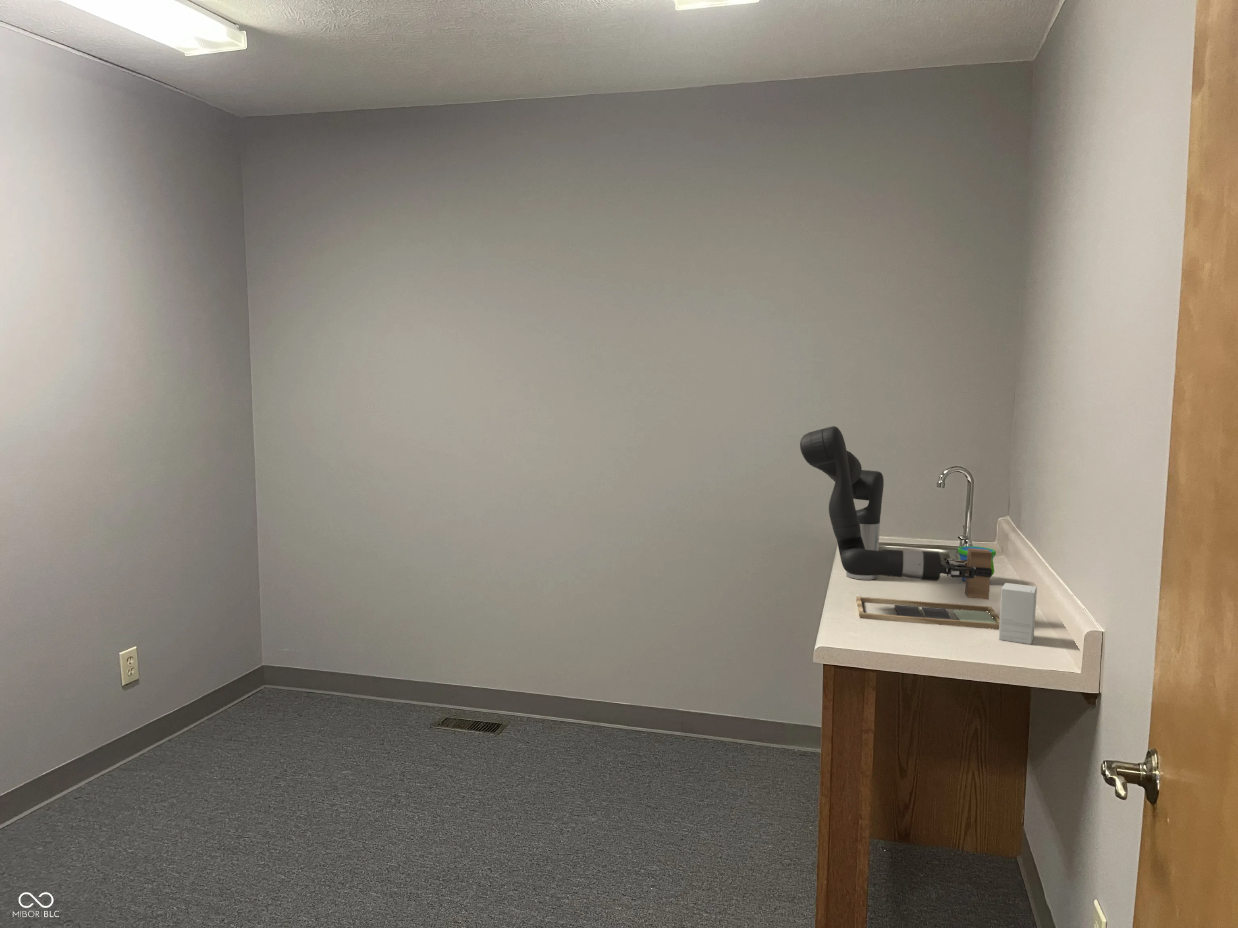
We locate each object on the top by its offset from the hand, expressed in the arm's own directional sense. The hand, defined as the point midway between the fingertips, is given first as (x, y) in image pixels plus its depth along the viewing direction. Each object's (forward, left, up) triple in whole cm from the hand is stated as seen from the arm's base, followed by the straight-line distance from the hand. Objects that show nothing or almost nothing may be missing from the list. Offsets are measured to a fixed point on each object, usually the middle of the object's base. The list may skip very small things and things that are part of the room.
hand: (989, 570), depth 224 cm
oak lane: (0, -15, -13) cm, 19 cm away
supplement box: (+16, +4, -13) cm, 21 cm away
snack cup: (-45, +5, -13) cm, 47 cm away
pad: (0, -3, -13) cm, 13 cm away
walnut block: (0, -3, -7) cm, 7 cm away
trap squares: (0, -15, -13) cm, 19 cm away
